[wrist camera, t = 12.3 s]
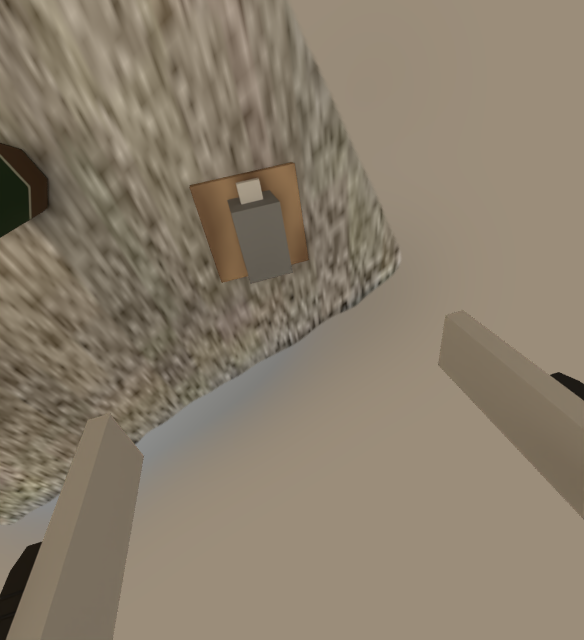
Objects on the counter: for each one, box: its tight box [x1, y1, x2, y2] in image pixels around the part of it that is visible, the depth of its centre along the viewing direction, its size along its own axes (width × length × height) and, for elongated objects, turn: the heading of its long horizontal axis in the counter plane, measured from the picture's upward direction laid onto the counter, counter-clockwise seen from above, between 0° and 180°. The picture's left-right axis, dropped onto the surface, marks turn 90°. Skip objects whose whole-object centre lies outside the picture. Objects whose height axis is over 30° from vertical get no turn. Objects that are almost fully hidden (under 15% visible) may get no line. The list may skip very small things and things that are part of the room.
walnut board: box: [190, 162, 309, 283], centre depth 39 cm, size 12×12×1 cm
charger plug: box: [227, 178, 293, 283], centre depth 35 cm, size 5×10×6 cm, turn 10°
